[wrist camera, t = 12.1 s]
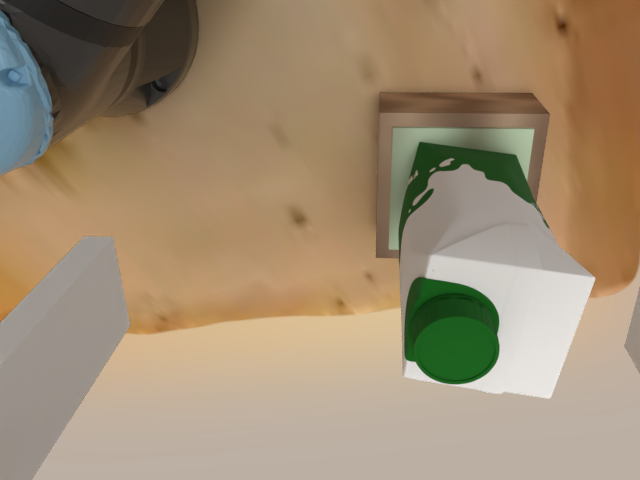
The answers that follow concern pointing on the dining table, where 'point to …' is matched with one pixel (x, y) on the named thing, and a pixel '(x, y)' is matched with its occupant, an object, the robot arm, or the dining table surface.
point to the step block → (451, 141)
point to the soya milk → (483, 276)
